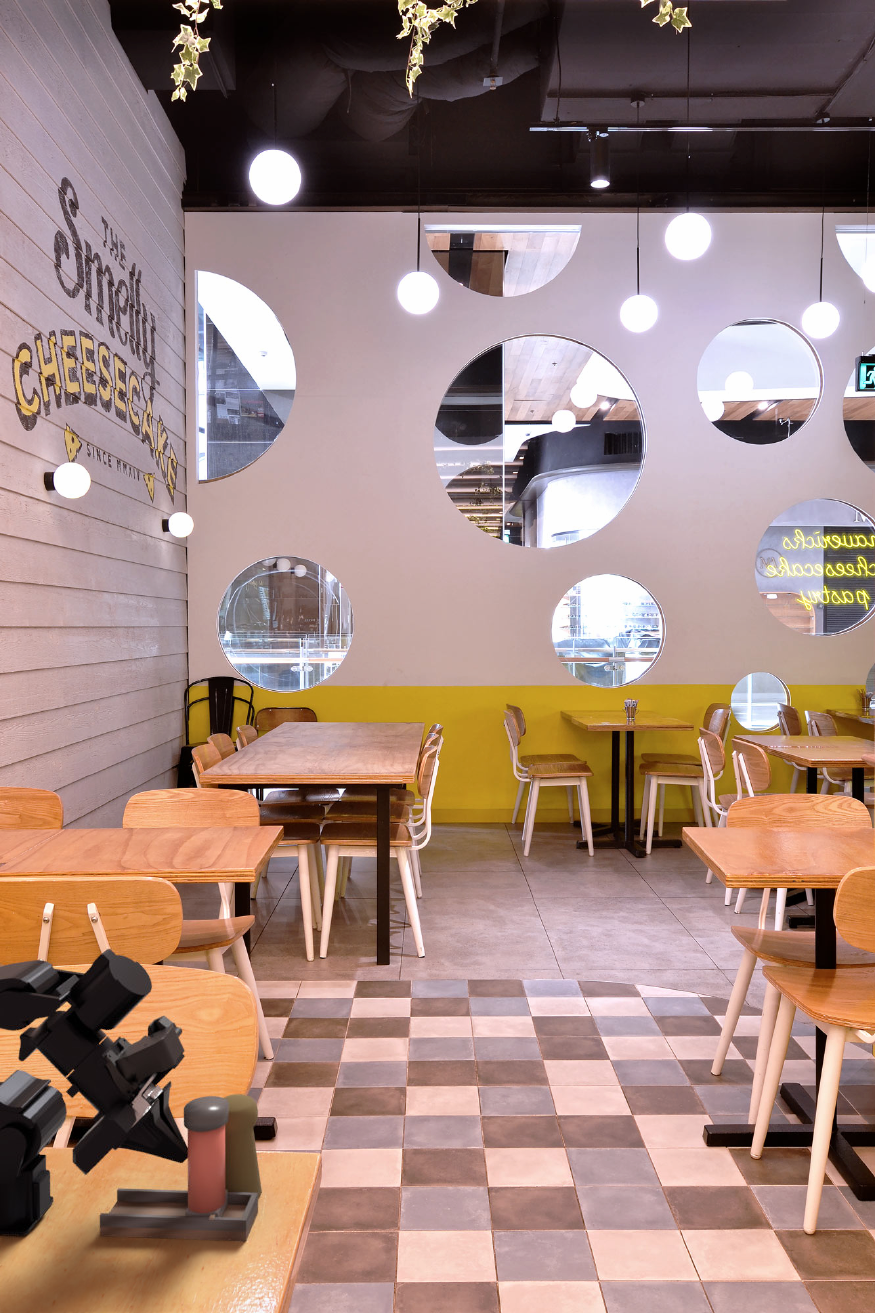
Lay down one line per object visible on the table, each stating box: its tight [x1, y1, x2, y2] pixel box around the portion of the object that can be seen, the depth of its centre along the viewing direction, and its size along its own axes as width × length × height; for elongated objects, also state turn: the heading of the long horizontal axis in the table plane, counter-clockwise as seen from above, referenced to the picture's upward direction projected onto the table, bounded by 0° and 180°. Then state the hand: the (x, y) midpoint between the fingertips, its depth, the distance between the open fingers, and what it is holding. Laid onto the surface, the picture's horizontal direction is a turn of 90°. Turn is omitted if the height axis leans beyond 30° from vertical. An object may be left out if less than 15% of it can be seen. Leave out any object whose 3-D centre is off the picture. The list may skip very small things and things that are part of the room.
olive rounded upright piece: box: [223, 1093, 263, 1200], centre depth 107 cm, size 6×6×11 cm
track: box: [99, 1187, 259, 1242], centre depth 101 cm, size 16×5×2 cm, turn 87°
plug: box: [183, 1095, 229, 1217], centre depth 101 cm, size 5×5×12 cm
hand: (186, 1158), depth 101 cm, fingers closed, pressing on plug
